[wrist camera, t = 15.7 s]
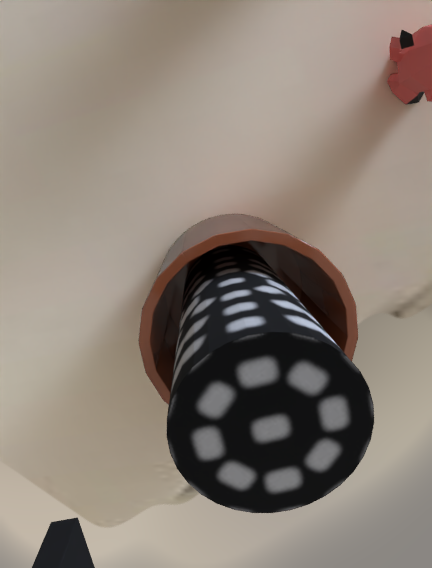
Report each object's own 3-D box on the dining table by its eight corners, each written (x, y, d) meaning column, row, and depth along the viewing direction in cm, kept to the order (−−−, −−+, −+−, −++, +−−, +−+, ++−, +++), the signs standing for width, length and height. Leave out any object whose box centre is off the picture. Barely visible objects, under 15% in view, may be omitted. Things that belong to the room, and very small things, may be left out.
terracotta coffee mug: (144, 228, 33) (116, 251, 22) (297, 201, 33) (349, 211, 22) (183, 408, 38) (177, 505, 27) (316, 385, 38) (368, 472, 27)
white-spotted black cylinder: (197, 341, 35) (196, 531, 16) (173, 257, 33) (140, 361, 14) (283, 321, 35) (385, 487, 16) (265, 235, 33) (359, 308, 14)
